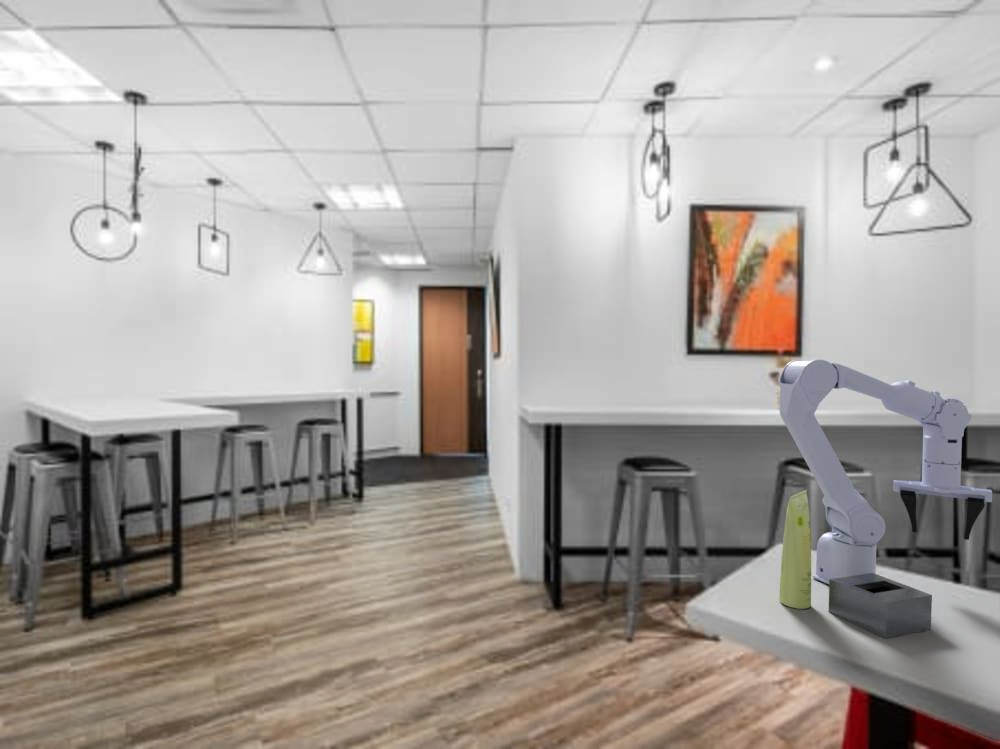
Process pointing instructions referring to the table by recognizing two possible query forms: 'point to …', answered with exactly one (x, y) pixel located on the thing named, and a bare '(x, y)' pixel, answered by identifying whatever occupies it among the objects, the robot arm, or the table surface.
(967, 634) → the table surface
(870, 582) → the box
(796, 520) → the tube
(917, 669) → the table surface
